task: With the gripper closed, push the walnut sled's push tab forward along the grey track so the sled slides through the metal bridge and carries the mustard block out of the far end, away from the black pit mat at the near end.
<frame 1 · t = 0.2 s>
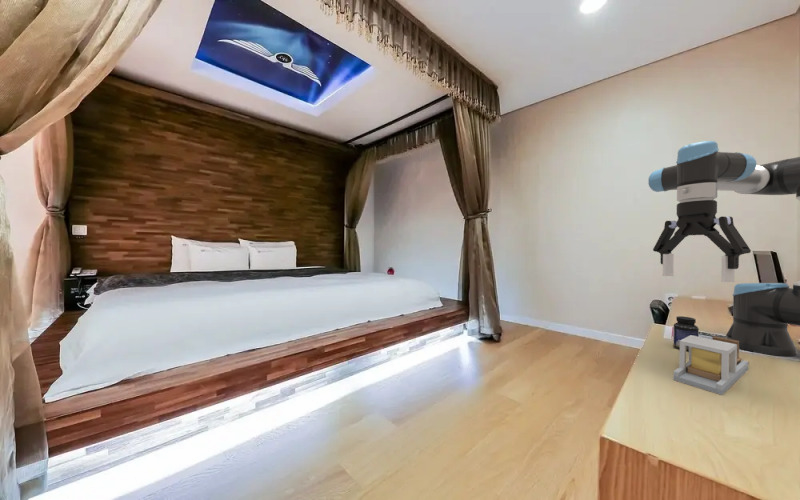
hand: (695, 278, 75), 28 cm above the table, fingers open, 13 cm apart
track: (712, 374, 78), on the table
pill bottle: (685, 349, 97), on the table
pit: (728, 361, 86), on the table
sled: (715, 355, 79), point 5 cm above the table, slide at 0.0 cm
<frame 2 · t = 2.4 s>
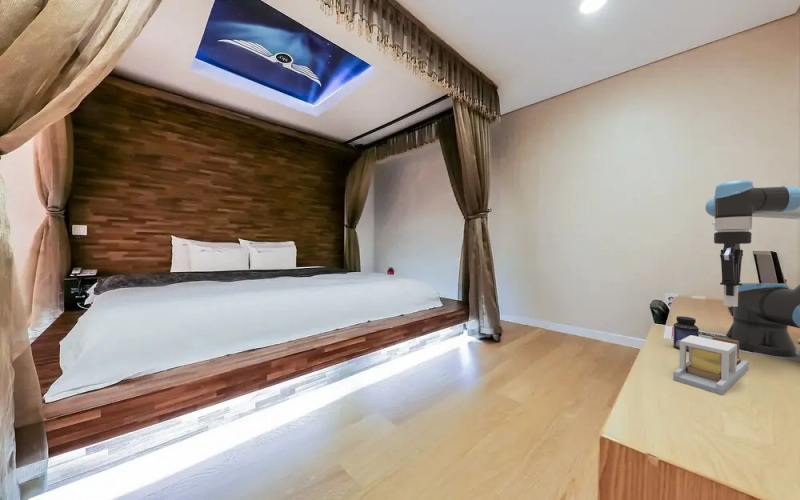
hand: (730, 305, 87), 17 cm above the table, fingers closed
nothing on the table moved.
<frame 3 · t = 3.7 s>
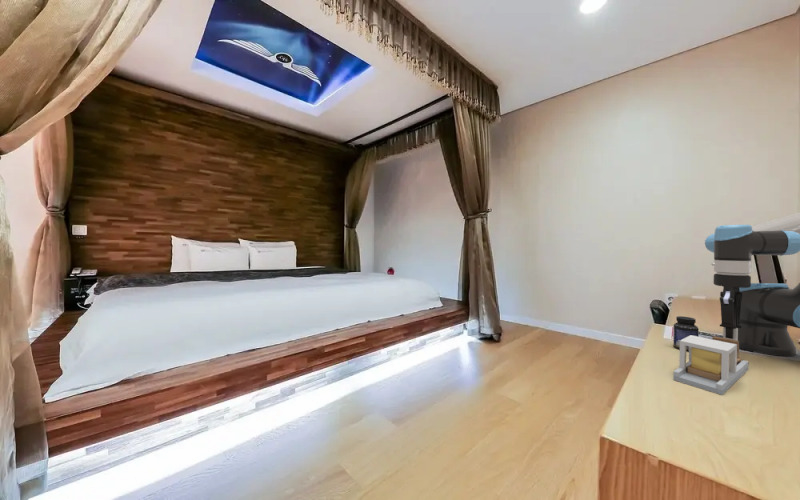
hand: (730, 347, 87), 4 cm above the table, fingers closed
nothing on the table moved.
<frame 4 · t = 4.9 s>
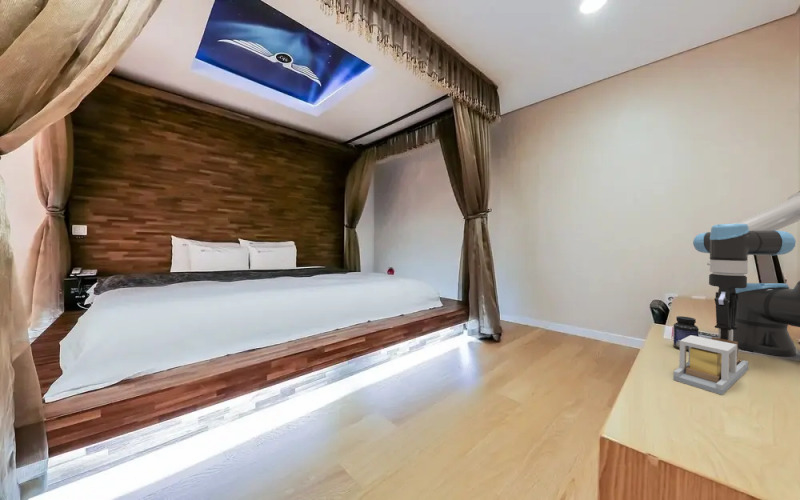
hand: (725, 349, 85), 4 cm above the table, fingers closed
sled: (714, 356, 79), point 5 cm above the table, slide at 1.4 cm, touching gripper
everything else where it was.
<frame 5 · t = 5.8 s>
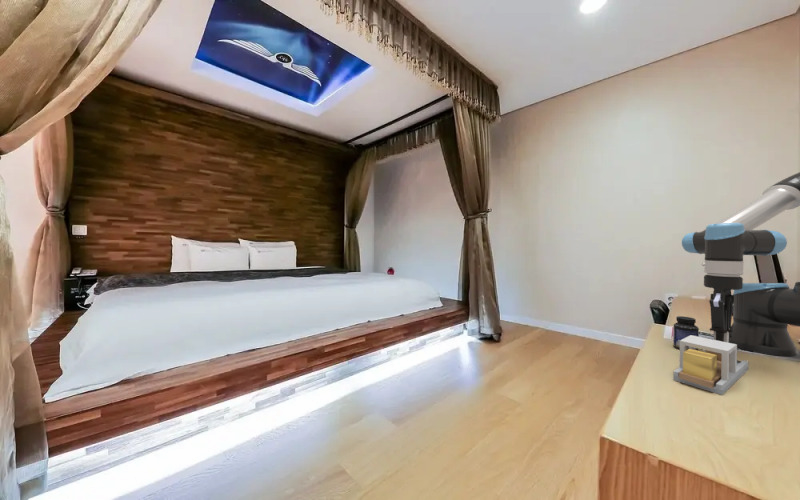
hand: (720, 353, 83), 4 cm above the table, fingers closed
sled: (708, 360, 76), point 5 cm above the table, slide at 6.6 cm, touching gripper
everything else where it was.
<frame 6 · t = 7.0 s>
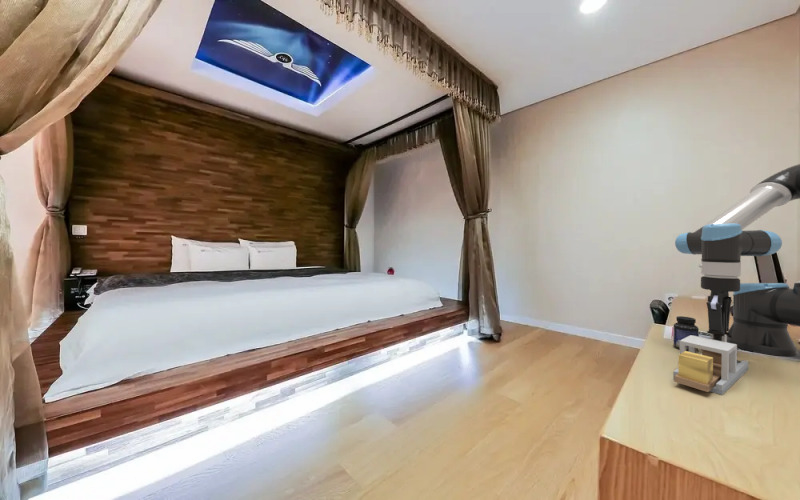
hand: (718, 356, 81), 4 cm above the table, fingers closed
sled: (704, 363, 74), point 5 cm above the table, slide at 10.0 cm, touching gripper
everything else where it was.
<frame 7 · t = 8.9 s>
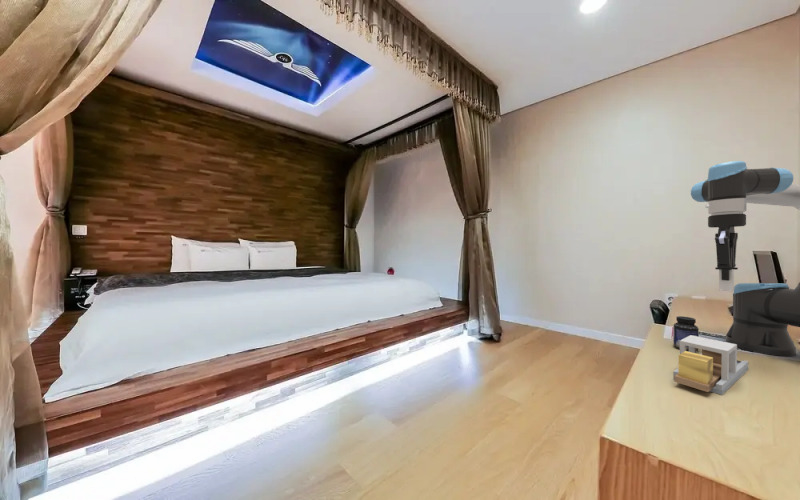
hand: (726, 290, 85), 23 cm above the table, fingers closed
sled: (704, 363, 74), point 5 cm above the table, slide at 10.0 cm
everything else where it was.
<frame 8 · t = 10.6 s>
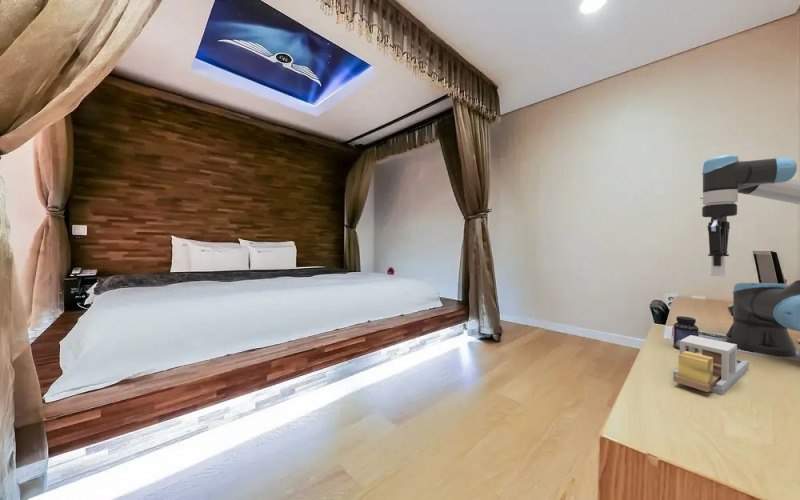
hand: (718, 275, 91), 26 cm above the table, fingers closed
nothing on the table moved.
at the end: sled slide at 10.0 cm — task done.
